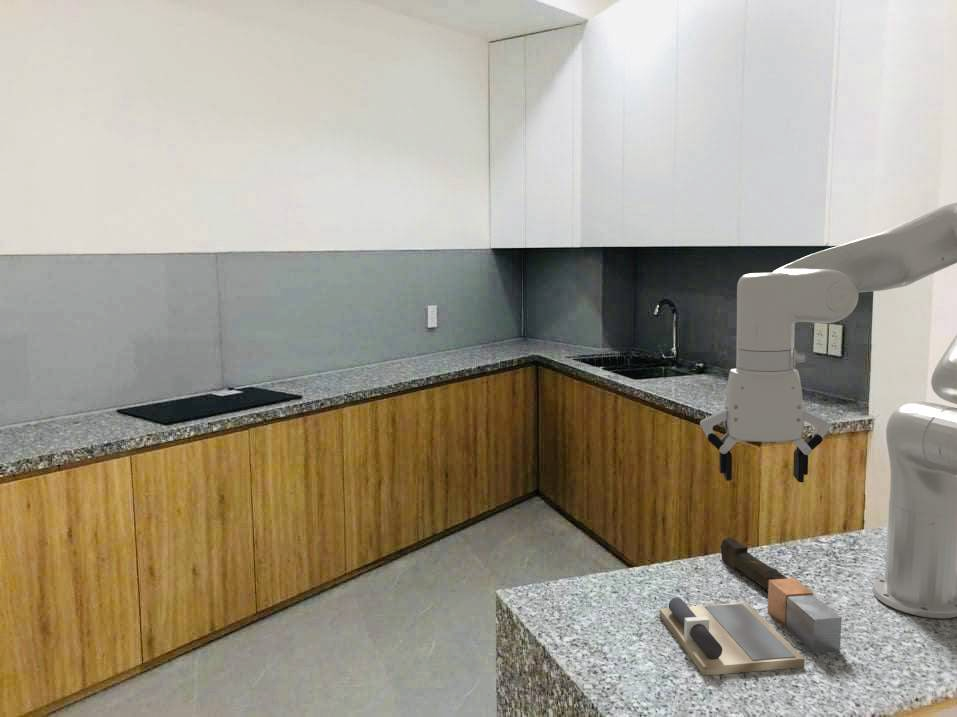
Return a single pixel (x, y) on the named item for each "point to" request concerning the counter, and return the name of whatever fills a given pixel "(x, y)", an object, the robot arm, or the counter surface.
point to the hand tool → (748, 563)
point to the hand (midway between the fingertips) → (762, 478)
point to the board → (736, 640)
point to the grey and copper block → (804, 615)
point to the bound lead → (695, 628)
